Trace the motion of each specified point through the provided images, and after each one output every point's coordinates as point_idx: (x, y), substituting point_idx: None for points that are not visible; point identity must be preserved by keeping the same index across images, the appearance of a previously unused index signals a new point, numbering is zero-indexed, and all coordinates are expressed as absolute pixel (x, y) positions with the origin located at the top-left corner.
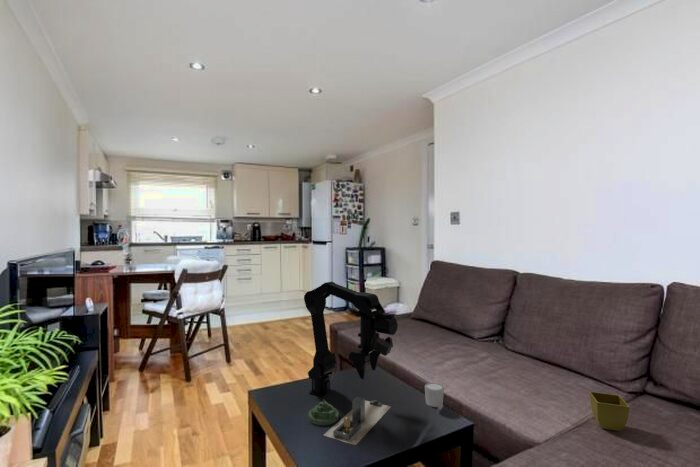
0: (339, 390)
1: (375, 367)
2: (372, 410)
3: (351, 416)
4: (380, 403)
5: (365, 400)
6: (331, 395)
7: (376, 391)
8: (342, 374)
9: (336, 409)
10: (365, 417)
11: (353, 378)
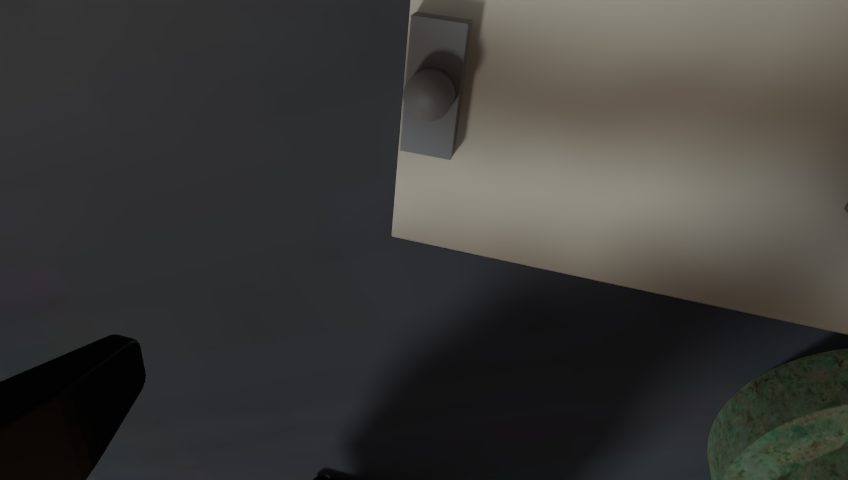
0: (282, 429)
1: (81, 370)
2: (605, 80)
3: (813, 265)
4: (432, 27)
5: (394, 211)
6: (387, 464)
7: (125, 157)
8: None
9: (778, 431)
10: (816, 115)
11: None
